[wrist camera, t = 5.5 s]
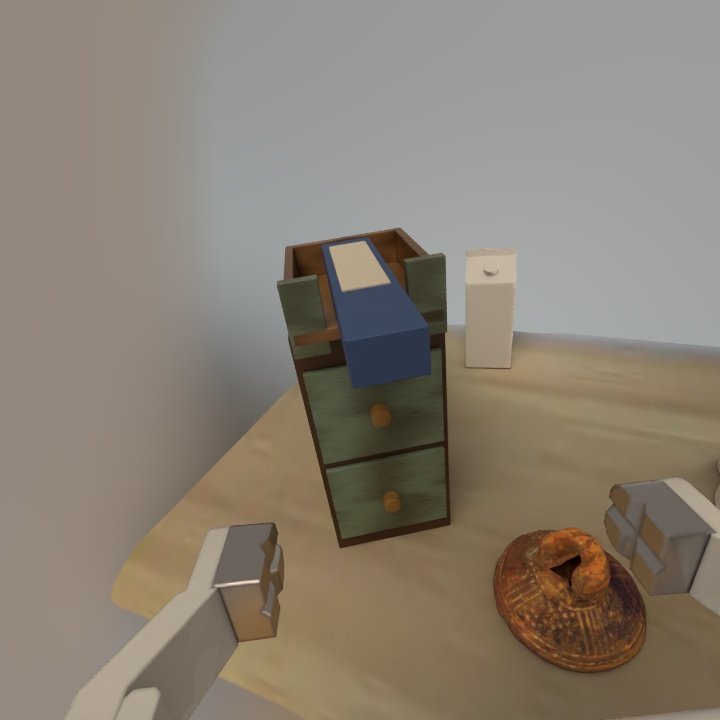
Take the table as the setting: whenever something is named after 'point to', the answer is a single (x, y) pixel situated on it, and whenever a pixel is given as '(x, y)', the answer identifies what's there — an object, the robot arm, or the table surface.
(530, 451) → the table surface
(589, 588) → the bell
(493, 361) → the milk carton
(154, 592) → the table surface
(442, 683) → the table surface
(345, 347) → the case
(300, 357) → the drawer stand
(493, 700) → the table surface
